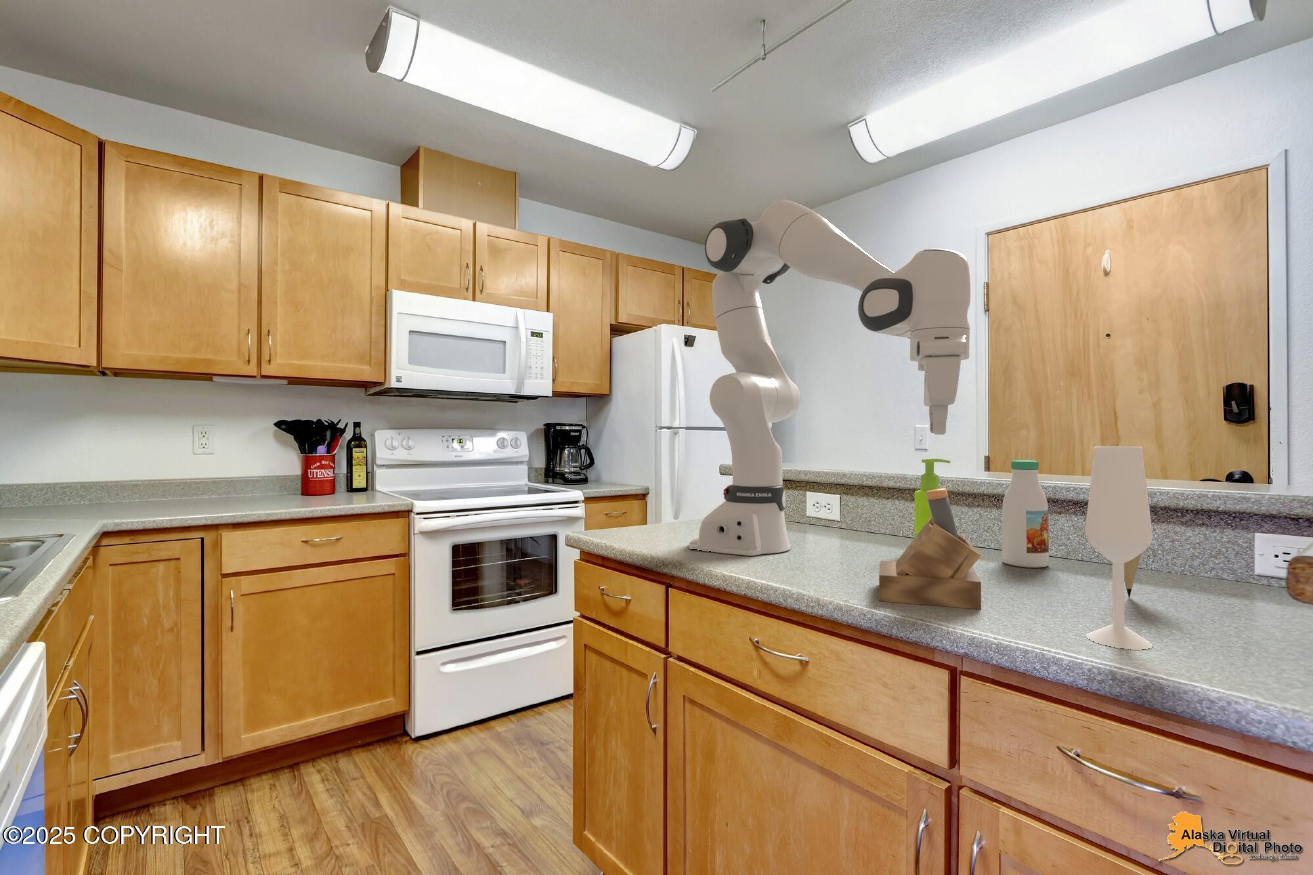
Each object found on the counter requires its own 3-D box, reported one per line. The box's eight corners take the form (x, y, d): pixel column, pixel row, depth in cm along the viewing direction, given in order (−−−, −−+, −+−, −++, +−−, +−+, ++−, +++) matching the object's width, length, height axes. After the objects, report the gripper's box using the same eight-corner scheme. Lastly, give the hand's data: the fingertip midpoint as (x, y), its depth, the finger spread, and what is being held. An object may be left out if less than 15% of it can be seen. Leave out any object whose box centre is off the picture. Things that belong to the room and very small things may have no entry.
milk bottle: (1009, 567, 117) (1008, 461, 117) (997, 559, 125) (996, 459, 124) (1055, 569, 115) (1055, 461, 115) (1040, 560, 123) (1039, 459, 122)
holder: (879, 601, 96) (878, 523, 96) (880, 584, 106) (879, 513, 106) (982, 609, 91) (981, 527, 91) (972, 590, 101) (972, 517, 101)
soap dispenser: (954, 557, 127) (953, 459, 126) (918, 556, 128) (917, 459, 128) (946, 552, 132) (946, 458, 132) (912, 551, 134) (911, 458, 133)
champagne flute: (1093, 628, 82) (1093, 445, 81) (1158, 640, 77) (1158, 446, 76) (1078, 640, 77) (1077, 447, 77) (1146, 654, 72) (1145, 447, 72)
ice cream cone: (1097, 595, 97) (1097, 499, 97) (1121, 591, 99) (1121, 497, 99) (1136, 604, 92) (1136, 503, 92) (1161, 600, 94) (1161, 501, 94)
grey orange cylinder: (941, 556, 96) (925, 493, 97) (940, 552, 99) (924, 491, 100) (963, 553, 95) (947, 489, 96) (961, 549, 98) (945, 487, 99)
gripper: (916, 355, 112) (914, 432, 113) (920, 343, 93) (918, 435, 94) (954, 354, 110) (953, 432, 111) (967, 341, 91) (964, 435, 92)
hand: (937, 433), depth 102 cm, fingers open, 8 cm apart
